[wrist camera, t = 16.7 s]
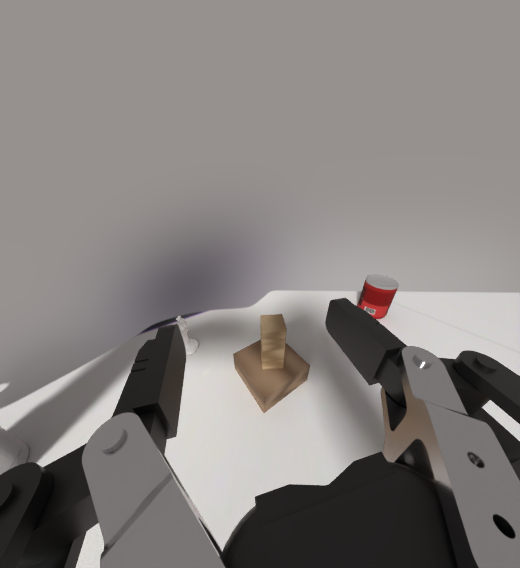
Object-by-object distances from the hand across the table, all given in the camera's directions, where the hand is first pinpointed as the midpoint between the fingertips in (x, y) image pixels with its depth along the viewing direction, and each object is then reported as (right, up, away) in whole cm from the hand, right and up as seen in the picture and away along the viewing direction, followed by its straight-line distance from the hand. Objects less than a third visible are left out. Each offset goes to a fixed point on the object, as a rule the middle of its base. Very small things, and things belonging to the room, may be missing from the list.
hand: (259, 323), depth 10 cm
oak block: (+2, -13, +28) cm, 31 cm away
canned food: (+34, -7, +48) cm, 59 cm away
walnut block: (+2, -18, +30) cm, 35 cm away
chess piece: (-18, -14, +37) cm, 43 cm away
